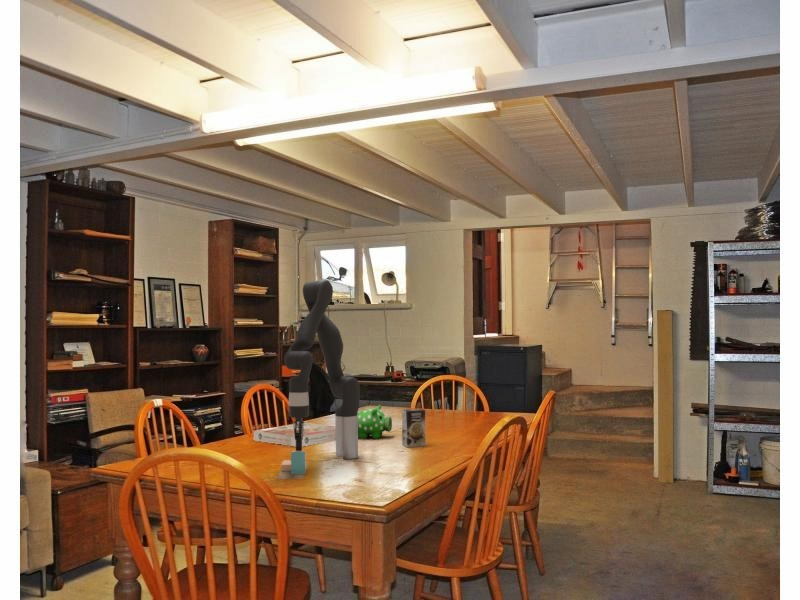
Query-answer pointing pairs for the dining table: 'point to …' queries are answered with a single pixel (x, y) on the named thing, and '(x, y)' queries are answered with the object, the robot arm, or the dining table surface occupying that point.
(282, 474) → the board
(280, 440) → the pizza box
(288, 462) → the tile
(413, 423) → the coffee box
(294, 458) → the tile
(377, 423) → the piggy bank
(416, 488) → the dining table surface
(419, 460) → the dining table surface
